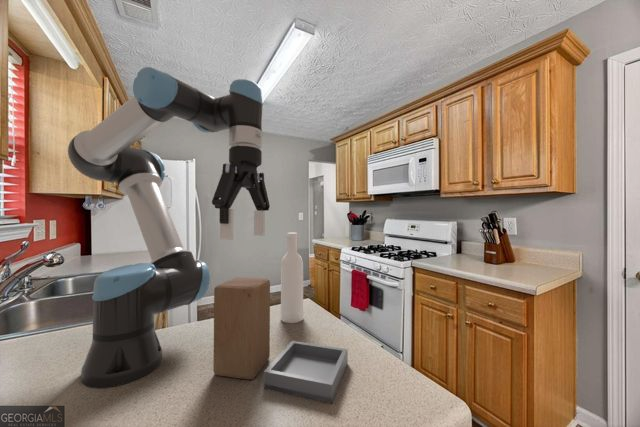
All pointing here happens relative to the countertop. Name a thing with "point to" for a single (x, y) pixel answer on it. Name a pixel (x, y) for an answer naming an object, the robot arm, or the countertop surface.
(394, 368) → the countertop surface
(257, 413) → the countertop surface
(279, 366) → the tray
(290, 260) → the bottle
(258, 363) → the wooden block
